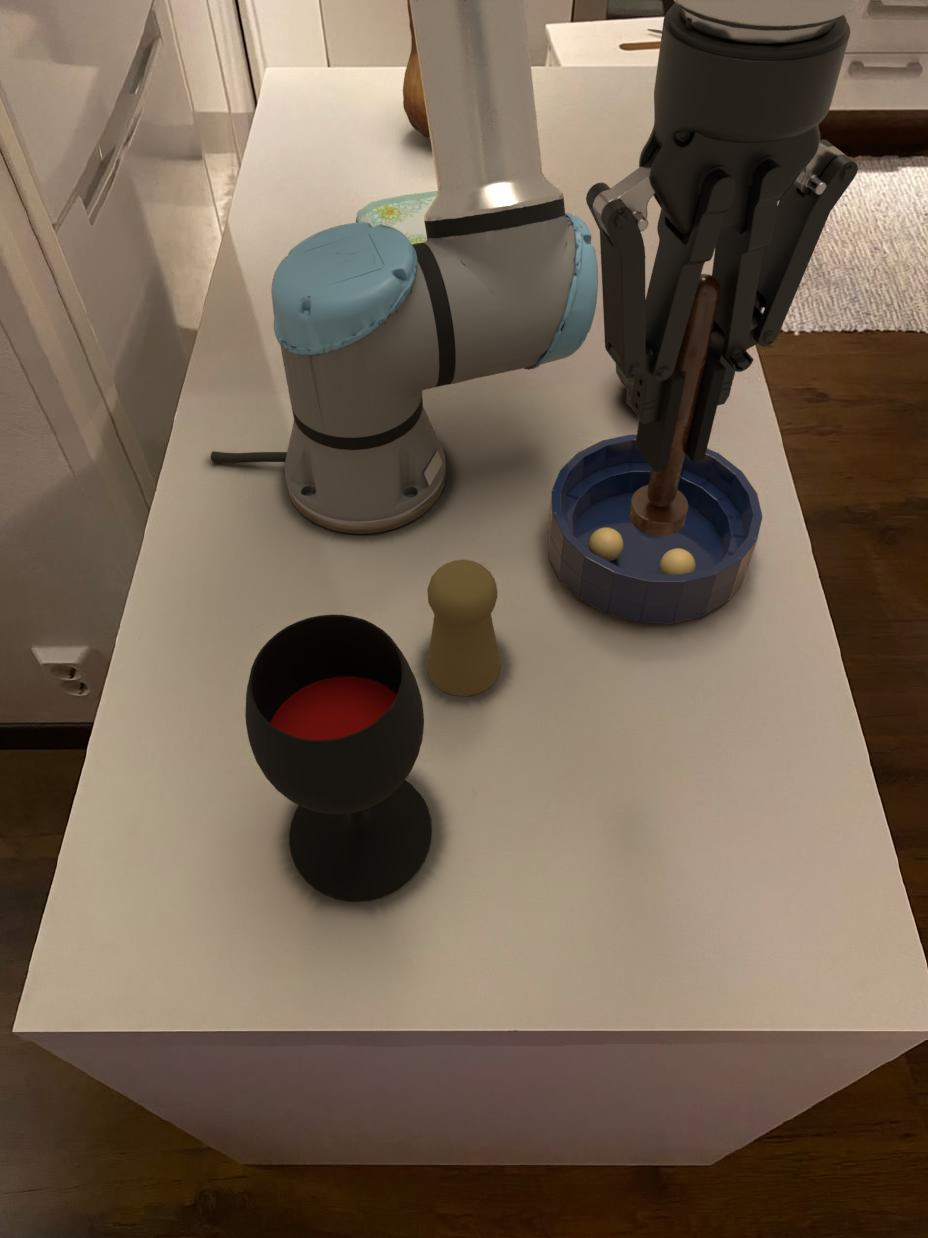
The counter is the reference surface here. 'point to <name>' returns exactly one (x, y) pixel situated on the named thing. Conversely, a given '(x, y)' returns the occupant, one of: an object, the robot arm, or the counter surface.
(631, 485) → the bowl
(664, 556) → the chickpea
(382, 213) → the towel
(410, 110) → the butternut squash
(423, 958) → the counter surface
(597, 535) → the chickpea
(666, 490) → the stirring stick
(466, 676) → the cork
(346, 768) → the wine glass
